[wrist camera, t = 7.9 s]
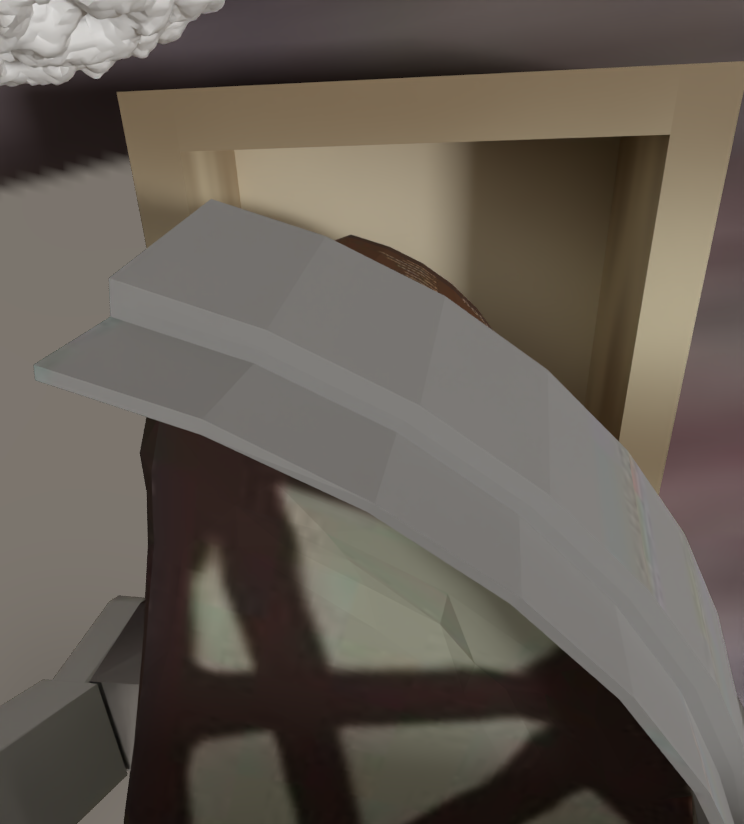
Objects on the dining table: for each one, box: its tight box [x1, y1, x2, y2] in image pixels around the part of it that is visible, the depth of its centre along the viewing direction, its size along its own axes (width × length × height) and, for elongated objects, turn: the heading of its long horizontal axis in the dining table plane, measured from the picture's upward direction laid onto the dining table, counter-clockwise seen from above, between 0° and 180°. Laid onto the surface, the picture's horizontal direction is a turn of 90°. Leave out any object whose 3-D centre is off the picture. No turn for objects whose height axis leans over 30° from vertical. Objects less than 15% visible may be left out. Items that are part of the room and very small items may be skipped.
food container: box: [34, 199, 744, 824], centre depth 10 cm, size 12×6×10 cm, turn 168°
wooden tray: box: [117, 61, 744, 496], centre depth 15 cm, size 15×10×4 cm
